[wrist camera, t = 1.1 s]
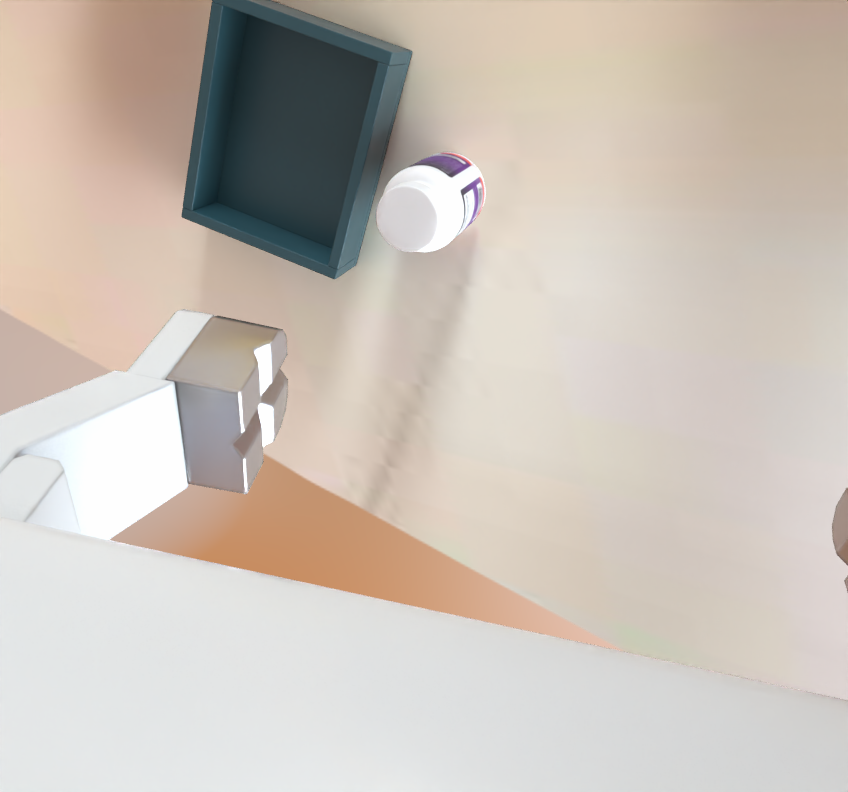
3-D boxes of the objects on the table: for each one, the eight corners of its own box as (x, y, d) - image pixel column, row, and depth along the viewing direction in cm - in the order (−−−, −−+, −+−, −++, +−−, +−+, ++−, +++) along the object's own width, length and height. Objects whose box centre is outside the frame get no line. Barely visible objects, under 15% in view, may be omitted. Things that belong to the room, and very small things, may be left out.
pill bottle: (398, 183, 56) (346, 210, 48) (454, 134, 53) (411, 153, 45) (444, 244, 57) (402, 280, 48) (502, 198, 54) (468, 228, 46)
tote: (245, -9, 54) (213, -13, 50) (412, 51, 52) (392, 52, 49) (210, 206, 61) (180, 217, 58) (356, 265, 60) (335, 280, 56)
